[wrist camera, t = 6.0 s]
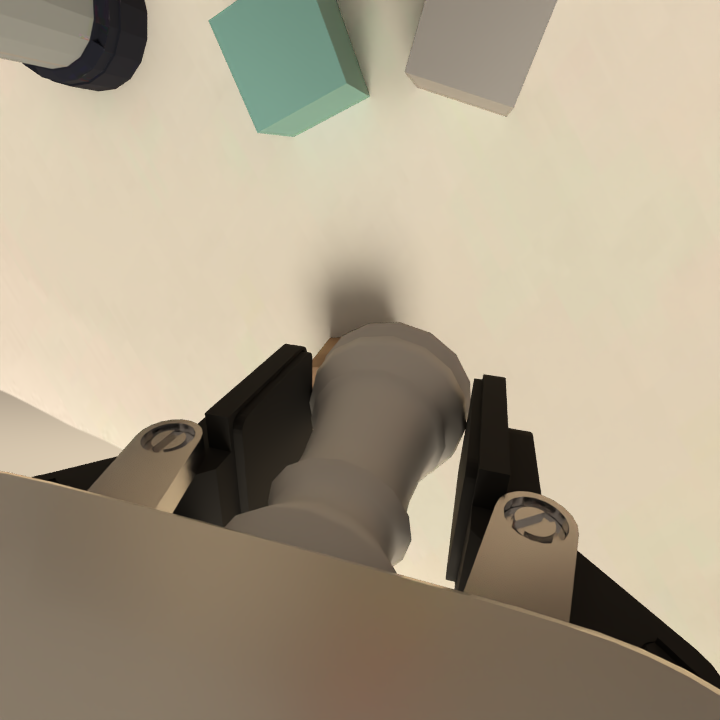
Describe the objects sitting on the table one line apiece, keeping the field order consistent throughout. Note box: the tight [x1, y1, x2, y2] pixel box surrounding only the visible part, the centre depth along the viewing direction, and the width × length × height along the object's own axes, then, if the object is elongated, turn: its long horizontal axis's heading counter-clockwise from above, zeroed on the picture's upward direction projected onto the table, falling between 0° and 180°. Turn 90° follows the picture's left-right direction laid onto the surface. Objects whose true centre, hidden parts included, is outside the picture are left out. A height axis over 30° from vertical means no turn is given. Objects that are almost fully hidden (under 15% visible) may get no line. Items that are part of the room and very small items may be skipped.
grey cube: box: [405, 0, 557, 117], centre depth 20 cm, size 5×5×5 cm
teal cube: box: [209, 0, 370, 137], centre depth 22 cm, size 5×5×5 cm
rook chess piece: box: [225, 322, 471, 574], centre depth 9 cm, size 4×4×8 cm
